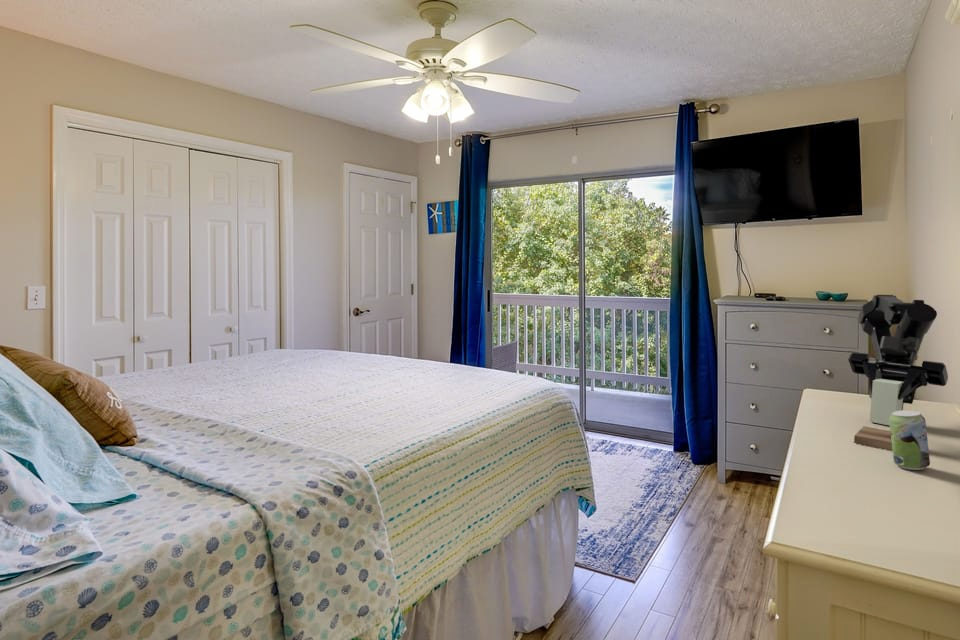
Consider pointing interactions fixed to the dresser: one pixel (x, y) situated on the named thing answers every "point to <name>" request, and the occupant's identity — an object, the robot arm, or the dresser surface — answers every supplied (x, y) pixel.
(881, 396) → the sage block
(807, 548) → the dresser surface
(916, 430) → the beverage can
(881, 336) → the robot arm
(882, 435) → the walnut block
